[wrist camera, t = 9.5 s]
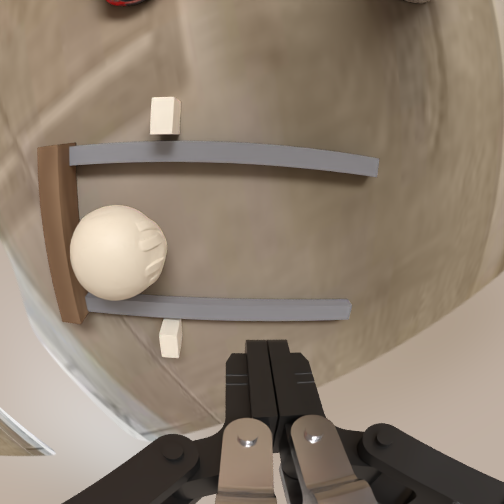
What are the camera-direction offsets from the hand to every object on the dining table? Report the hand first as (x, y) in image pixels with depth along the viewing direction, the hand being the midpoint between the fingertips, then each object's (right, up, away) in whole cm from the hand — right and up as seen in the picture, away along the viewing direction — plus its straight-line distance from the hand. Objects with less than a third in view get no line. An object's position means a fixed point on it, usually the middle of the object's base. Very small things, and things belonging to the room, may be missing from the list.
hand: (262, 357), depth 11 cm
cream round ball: (-10, +5, +12) cm, 17 cm away
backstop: (-16, +6, +12) cm, 21 cm away
